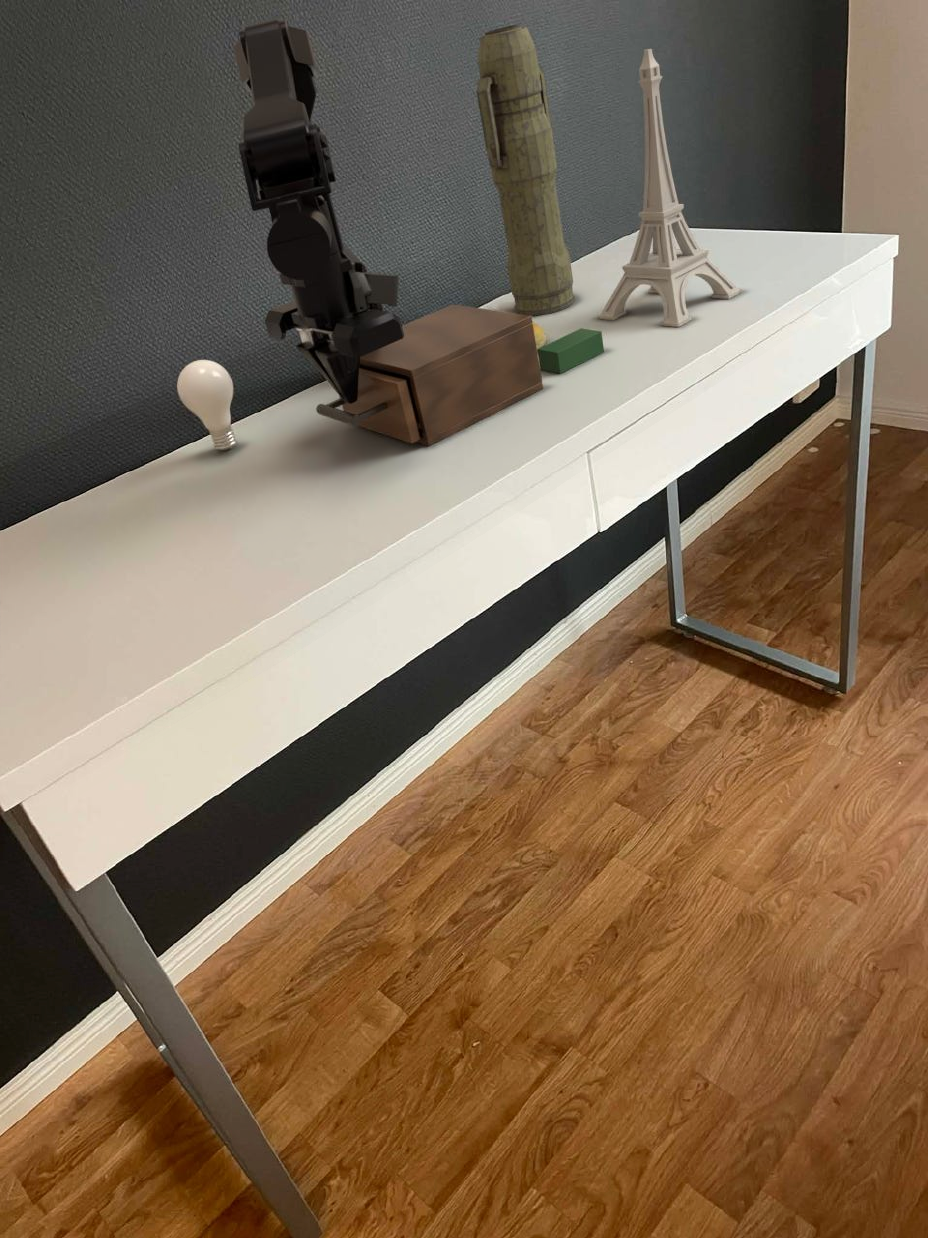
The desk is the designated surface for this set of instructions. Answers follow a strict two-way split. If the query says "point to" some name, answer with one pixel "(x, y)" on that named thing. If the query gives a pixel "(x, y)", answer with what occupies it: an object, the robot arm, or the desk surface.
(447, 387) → the cabinet
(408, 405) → the drawer
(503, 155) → the thermos
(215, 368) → the lightbulb
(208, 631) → the desk surface
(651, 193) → the eiffel tower
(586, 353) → the dark green foam brick
